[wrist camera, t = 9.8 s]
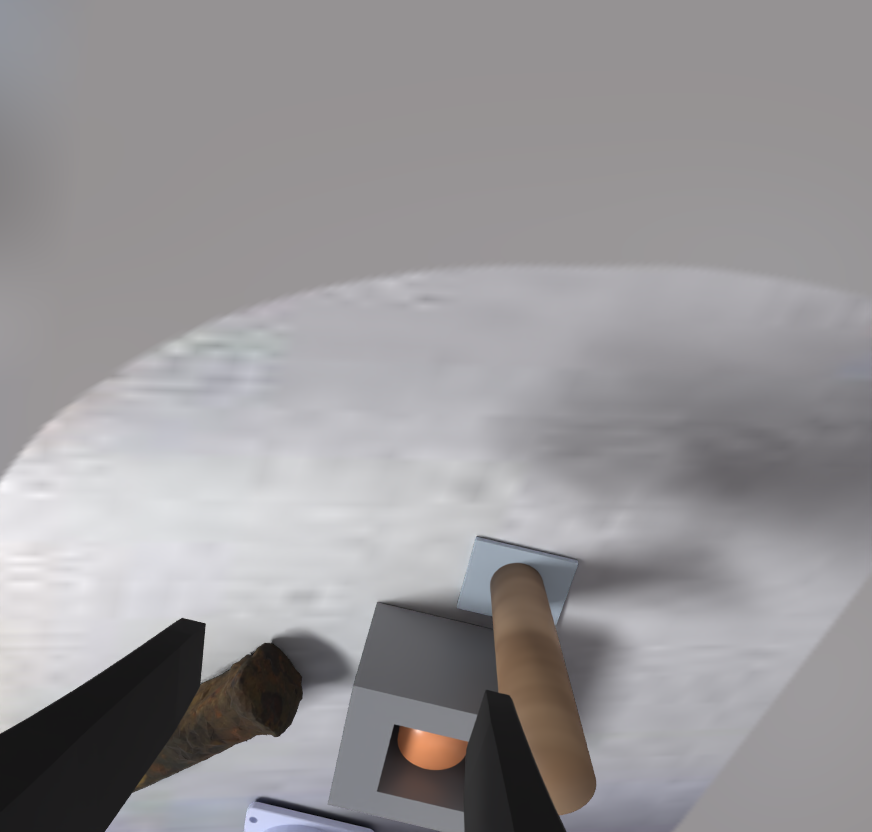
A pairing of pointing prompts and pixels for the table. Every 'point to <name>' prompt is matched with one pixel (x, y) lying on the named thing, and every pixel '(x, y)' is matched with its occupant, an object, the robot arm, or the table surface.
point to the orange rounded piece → (430, 749)
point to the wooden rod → (540, 684)
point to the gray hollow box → (412, 715)
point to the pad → (498, 554)
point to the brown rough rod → (232, 711)
